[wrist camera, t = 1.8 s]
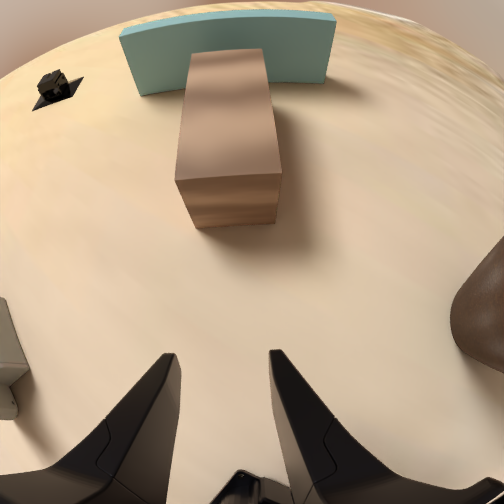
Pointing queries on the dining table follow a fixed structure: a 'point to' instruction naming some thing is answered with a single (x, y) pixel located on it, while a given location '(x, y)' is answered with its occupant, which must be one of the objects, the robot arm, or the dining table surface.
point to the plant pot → (482, 311)
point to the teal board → (229, 45)
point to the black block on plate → (55, 88)
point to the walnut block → (228, 141)
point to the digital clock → (9, 363)
